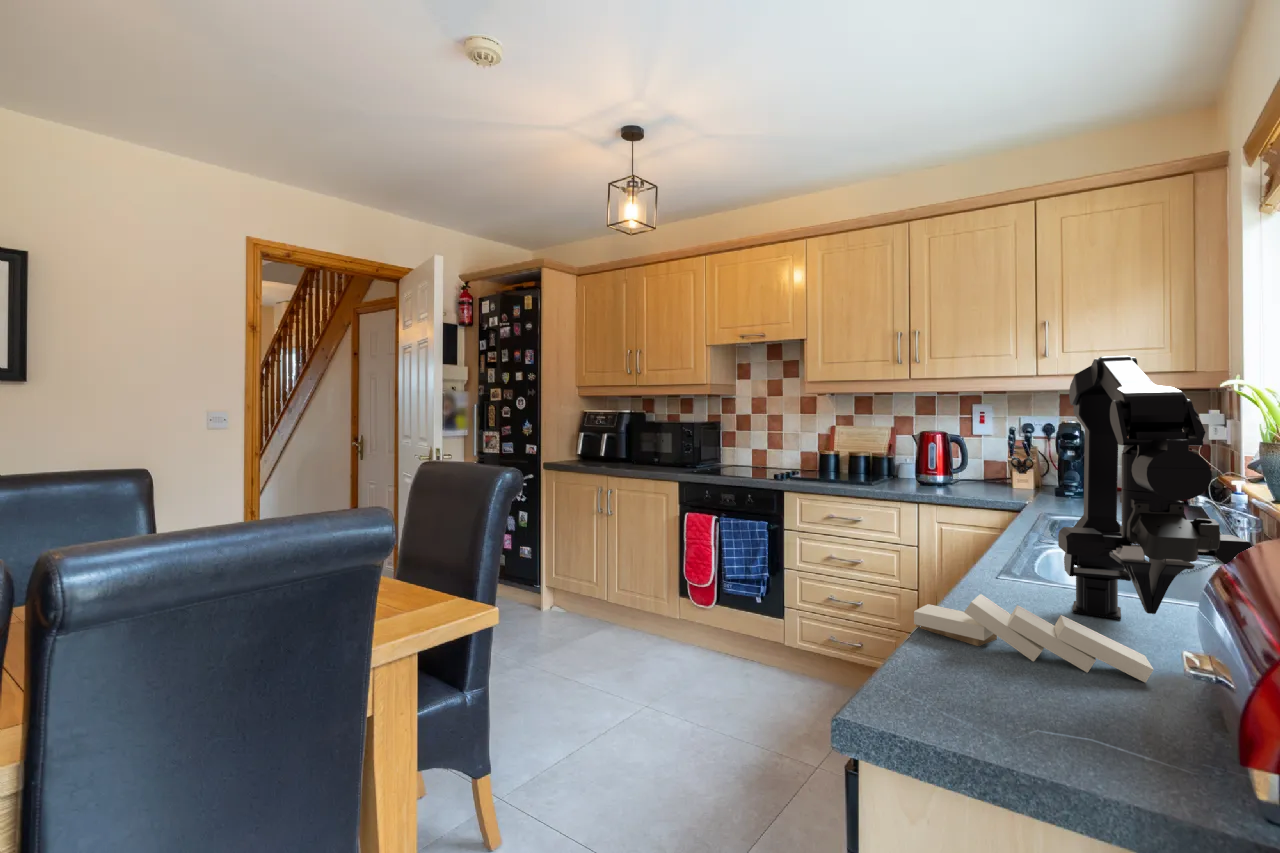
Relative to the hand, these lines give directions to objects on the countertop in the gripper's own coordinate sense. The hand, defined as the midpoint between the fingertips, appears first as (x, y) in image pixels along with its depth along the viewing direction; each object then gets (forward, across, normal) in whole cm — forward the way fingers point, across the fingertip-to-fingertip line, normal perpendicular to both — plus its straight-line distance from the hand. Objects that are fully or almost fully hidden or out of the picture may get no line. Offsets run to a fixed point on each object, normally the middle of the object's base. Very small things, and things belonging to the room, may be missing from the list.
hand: (1150, 613), depth 79 cm
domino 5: (+7, 0, 0) cm, 7 cm away
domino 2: (+8, -17, +6) cm, 20 cm away
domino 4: (+7, -6, +2) cm, 10 cm away
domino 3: (+7, -11, +3) cm, 14 cm away
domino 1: (+6, -17, +5) cm, 19 cm away
